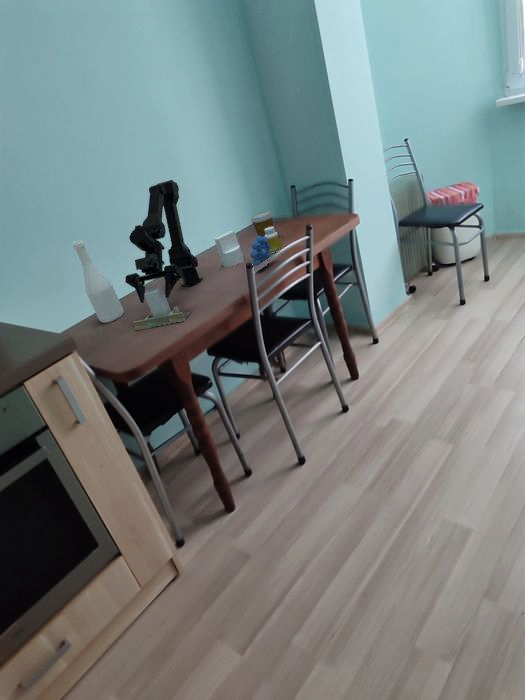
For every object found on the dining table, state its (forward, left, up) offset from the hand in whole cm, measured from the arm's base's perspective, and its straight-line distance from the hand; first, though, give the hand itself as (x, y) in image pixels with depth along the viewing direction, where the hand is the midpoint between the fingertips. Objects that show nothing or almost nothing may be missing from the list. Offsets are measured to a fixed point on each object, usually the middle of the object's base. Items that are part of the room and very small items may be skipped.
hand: (154, 300), depth 159 cm
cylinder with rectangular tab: (-10, +48, -8) cm, 50 cm away
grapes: (+10, +43, -8) cm, 45 cm away
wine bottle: (-30, -1, -8) cm, 31 cm away
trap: (-1, +1, -8) cm, 8 cm away
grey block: (-1, +1, -8) cm, 8 cm away
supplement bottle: (+4, +59, -8) cm, 60 cm away
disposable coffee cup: (-9, +71, -8) cm, 72 cm away
